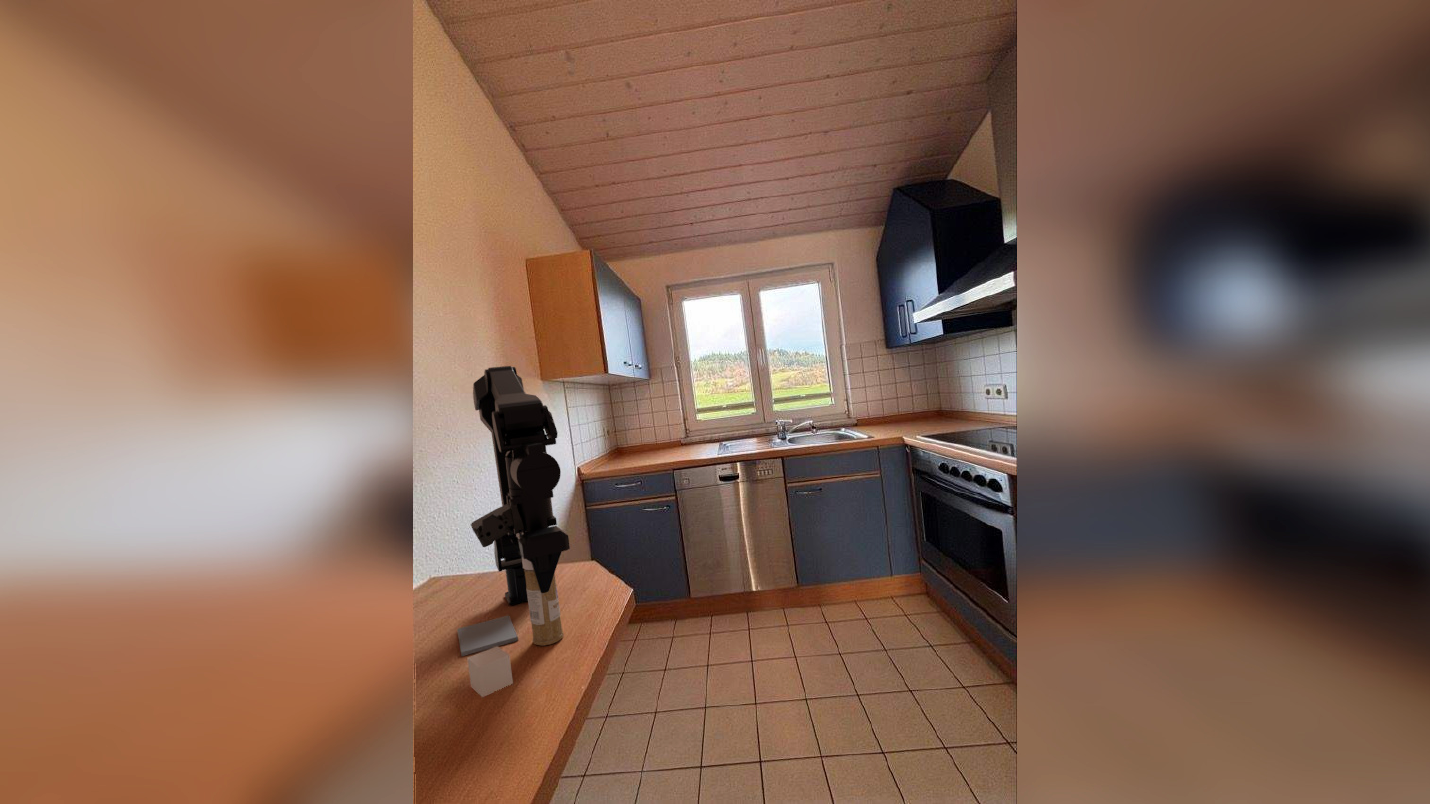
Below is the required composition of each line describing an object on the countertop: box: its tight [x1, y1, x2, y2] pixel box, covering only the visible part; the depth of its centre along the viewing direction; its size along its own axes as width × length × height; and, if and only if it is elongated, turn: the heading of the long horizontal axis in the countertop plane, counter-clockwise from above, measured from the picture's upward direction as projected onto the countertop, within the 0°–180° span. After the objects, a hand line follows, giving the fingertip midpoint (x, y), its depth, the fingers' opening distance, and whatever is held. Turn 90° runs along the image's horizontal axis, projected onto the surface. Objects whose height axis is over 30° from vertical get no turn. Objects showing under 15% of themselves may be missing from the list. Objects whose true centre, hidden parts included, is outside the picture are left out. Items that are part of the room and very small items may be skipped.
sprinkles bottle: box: [522, 557, 564, 646], centre depth 91 cm, size 5×5×14 cm
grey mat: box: [456, 614, 519, 657], centre depth 95 cm, size 10×8×1 cm
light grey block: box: [467, 646, 514, 698], centre depth 79 cm, size 4×4×4 cm
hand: (542, 587), depth 91 cm, fingers closed on sprinkles bottle, 4 cm apart
